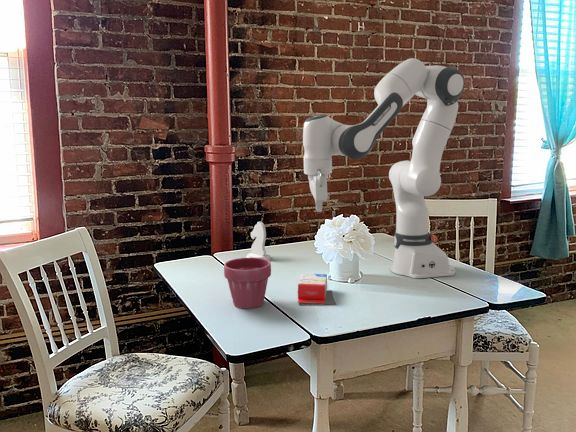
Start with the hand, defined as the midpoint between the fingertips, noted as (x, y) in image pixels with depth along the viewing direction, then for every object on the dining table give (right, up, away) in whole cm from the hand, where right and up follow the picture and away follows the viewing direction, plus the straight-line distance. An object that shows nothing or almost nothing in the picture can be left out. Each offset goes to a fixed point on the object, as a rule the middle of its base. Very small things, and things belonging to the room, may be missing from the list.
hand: (318, 211), depth 182 cm
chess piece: (-21, -19, +41) cm, 50 cm away
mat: (-1, -27, -4) cm, 27 cm away
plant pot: (-22, -28, -7) cm, 37 cm away
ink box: (-1, -23, +4) cm, 23 cm away
